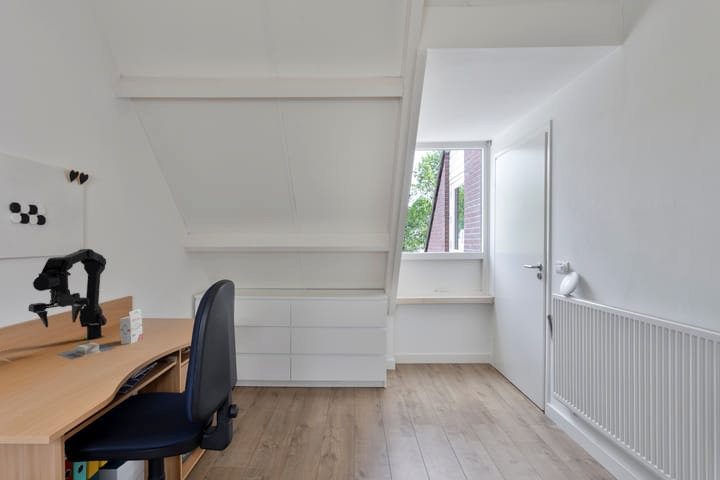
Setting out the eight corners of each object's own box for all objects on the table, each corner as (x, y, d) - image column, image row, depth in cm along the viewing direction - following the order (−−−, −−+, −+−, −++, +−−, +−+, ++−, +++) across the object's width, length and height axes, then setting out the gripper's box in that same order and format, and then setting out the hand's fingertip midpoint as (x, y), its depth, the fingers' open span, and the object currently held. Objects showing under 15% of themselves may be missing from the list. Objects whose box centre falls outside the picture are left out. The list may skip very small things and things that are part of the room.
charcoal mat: (55, 355, 148) (55, 353, 148) (100, 344, 161) (100, 343, 161) (72, 360, 140) (72, 359, 140) (117, 349, 154) (117, 347, 154)
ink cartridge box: (132, 339, 169) (131, 308, 169) (143, 339, 169) (142, 308, 169) (120, 345, 160) (119, 312, 160) (131, 344, 160) (130, 311, 160)
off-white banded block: (85, 355, 144) (84, 347, 144) (75, 352, 148) (75, 344, 148) (99, 351, 148) (98, 344, 148) (89, 349, 152) (89, 341, 152)
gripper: (38, 291, 138) (40, 332, 138) (94, 285, 154) (95, 321, 154) (27, 290, 143) (28, 329, 143) (82, 284, 159) (83, 319, 159)
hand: (60, 324), depth 150 cm, fingers open, 9 cm apart
